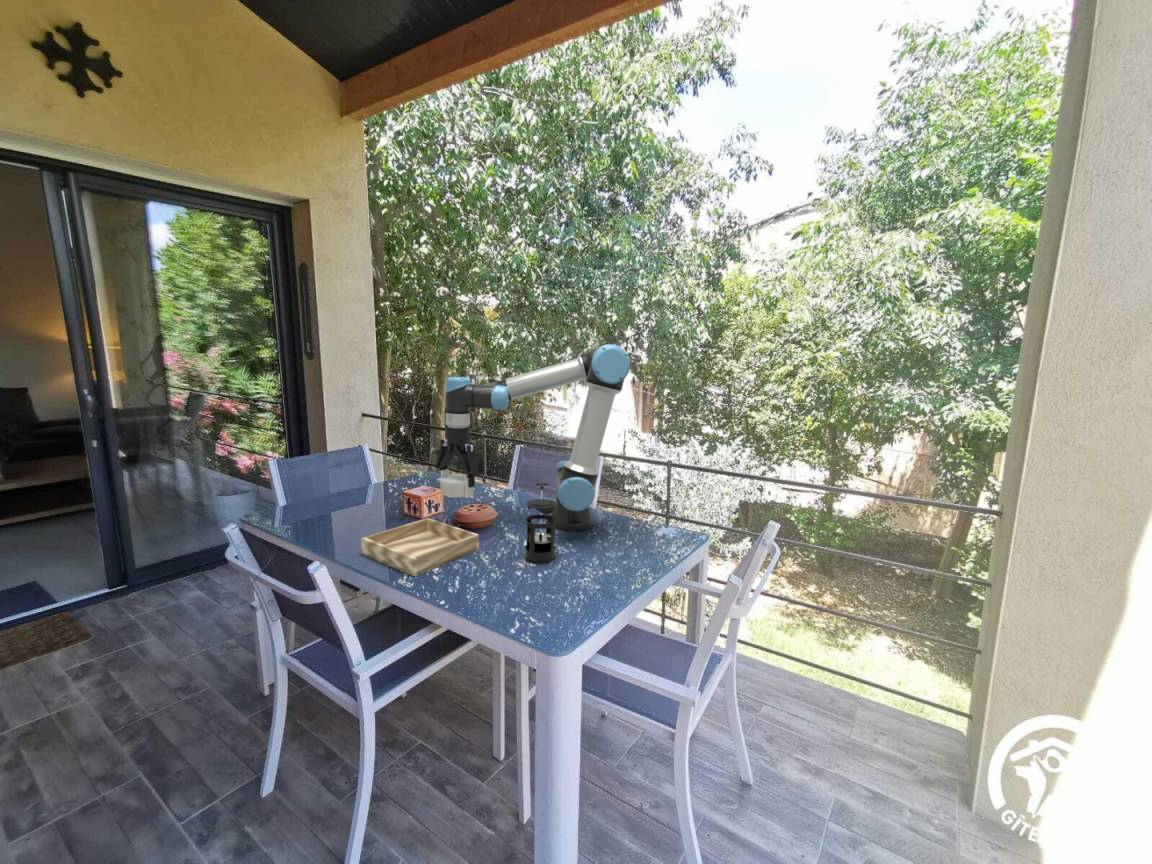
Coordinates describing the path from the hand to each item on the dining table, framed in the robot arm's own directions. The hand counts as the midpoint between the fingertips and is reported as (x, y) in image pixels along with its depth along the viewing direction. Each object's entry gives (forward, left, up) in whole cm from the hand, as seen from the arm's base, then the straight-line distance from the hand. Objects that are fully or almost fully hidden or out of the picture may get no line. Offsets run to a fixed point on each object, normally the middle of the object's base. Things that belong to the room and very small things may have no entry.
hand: (456, 492), depth 165 cm
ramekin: (0, 0, 0) cm, 0 cm away
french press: (-32, -4, -15) cm, 36 cm away
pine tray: (-2, +16, -15) cm, 22 cm away
